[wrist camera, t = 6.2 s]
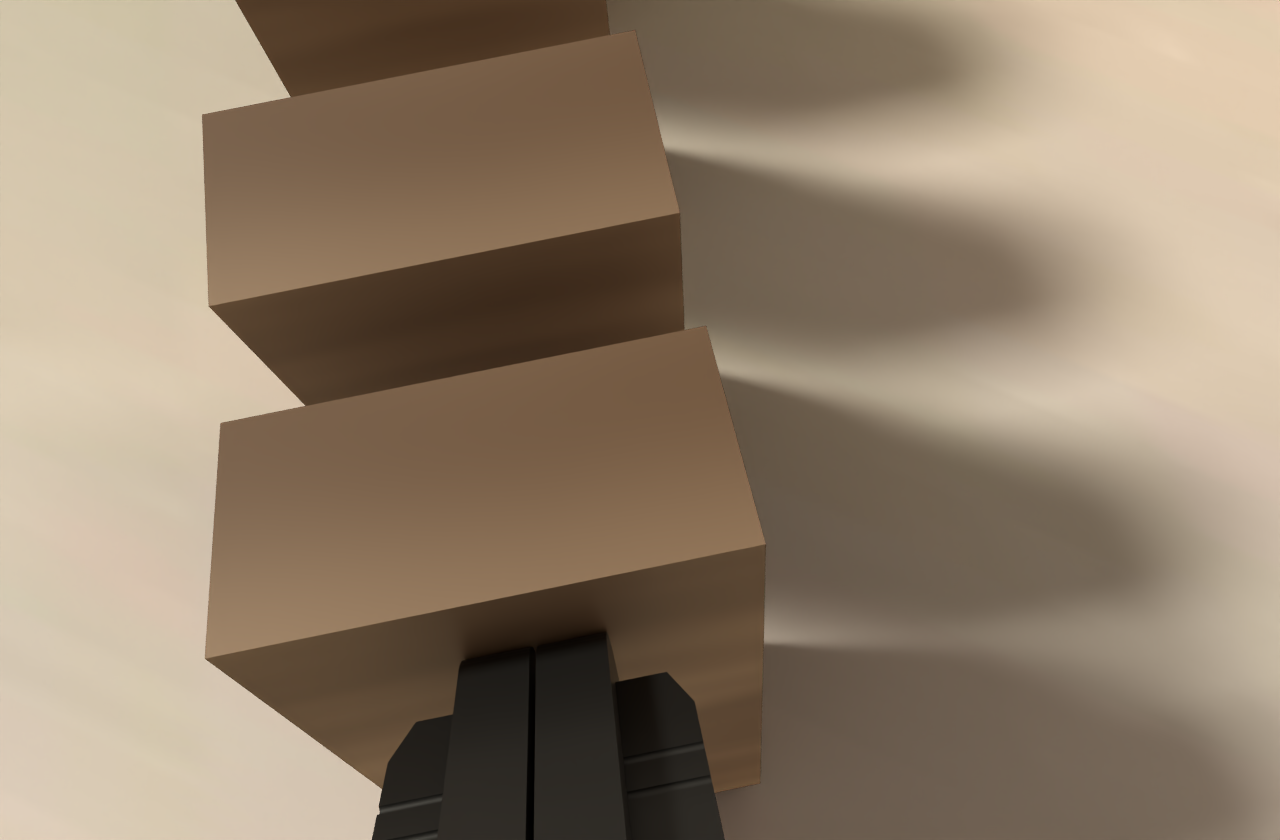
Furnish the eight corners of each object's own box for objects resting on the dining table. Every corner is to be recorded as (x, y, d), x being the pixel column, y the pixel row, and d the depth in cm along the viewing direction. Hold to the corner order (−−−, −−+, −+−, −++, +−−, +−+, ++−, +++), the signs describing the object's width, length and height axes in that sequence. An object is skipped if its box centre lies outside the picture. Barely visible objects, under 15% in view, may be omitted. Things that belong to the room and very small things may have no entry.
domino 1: (634, 236, 21) (587, -151, 12) (397, 283, 21) (192, -74, 12) (612, 140, 22) (556, -281, 13) (386, 184, 22) (188, -211, 13)
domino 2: (690, 479, 19) (680, 211, 10) (428, 532, 19) (208, 306, 10) (664, 361, 20) (635, 29, 11) (414, 411, 20) (201, 114, 11)
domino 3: (760, 783, 16) (765, 543, 9) (459, 845, 16) (205, 658, 9) (726, 639, 18) (705, 325, 10) (448, 696, 18) (220, 422, 10)
